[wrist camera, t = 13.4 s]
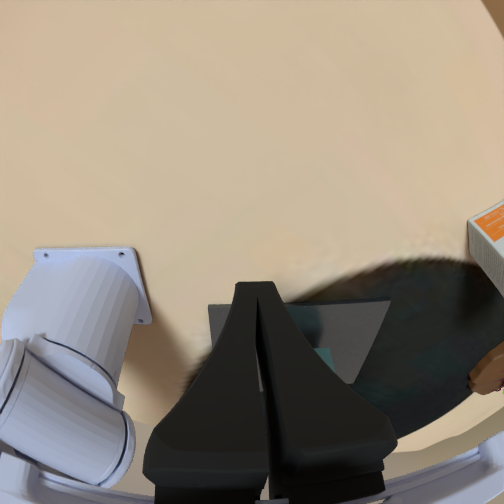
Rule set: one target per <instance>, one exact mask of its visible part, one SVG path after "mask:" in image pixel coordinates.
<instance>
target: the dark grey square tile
mask: <svg viewBox="0 0 504 504" xmlns="http://www.w3.org/2000/svg"><path fill="white" fill-rule="evenodd" d="M390 302H391V299H390V298H378V299H363V300H347V301H328V302H306V303H284V305H285V307H286V308H287V310H288V312H289V314H290V315H291V317H292V318H293V320H294V322H295V323H296V325H297V326H298V328H299V329H300V331H301V332H302V334H303V335H304V337H305V338H306V339H307V341H308V342H309V343H310V345H311V346H312V347H313V349H314V348H327V347H329V350H330V354H331V358H332V362H333V366H334V369H335V373H336V374H337V375H338V376H339V377H340V378H341V379H342V380H343V381H344V382H345V383H346V384H351V383H353V382H354V381H355V379H356V377H357V375H358V373H359V371H360V369H361V367H362V365H363V363H364V361H365V359H366V356H367V354H368V352H369V350H370V348H371V346H372V344H373V342H374V339H375V337H376V335H377V333H378V331H379V328H380V326H381V324H382V321H383V319H384V317H385V314H386V312H387V310H388V307H389V305H390ZM231 305H232V304H227V305H208V313H209V322H210V331H211V340H212V348H214V346H215V344H216V342H217V340H218V338H219V335H220V333H221V331H222V329H223V327H224V324H225V322H226V319H227V316H228V314H229V311H230V308H231ZM256 358H257V352H256ZM257 368H258V378H259V387H260V391H263V389H262V383H261V377H260V371H259V365H258V359H257Z"/></svg>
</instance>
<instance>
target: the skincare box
mask: <svg viewBox="0 0 504 504" xmlns="http://www.w3.org/2000/svg"><path fill="white" fill-rule="evenodd" d="M467 222H468V233H469V253H470V255H471V256H472V257H473V258H474V260H475V261H476V262H477V263H478V265H479V266H480V267H481V268H482V269H483V271H484V272H485V273H486V275H487V276H488V277H489V278H490V280H491V281H492V282H493V284H494V285H495V286H496V288H497V289H498V290H499V292H500V293H501V294H502V296H503V297H504V201H502V202H500V203H499V204H497V205H495V206H493V207H492V208H490V209H488V210H486V211H484V212H482V213H480V214H478V215H477V216H475V217H473V218H471V219H469V220H468V221H467Z"/></svg>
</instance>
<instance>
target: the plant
mask: <svg viewBox="0 0 504 504" xmlns="http://www.w3.org/2000/svg"><path fill="white" fill-rule="evenodd" d="M469 376H470V378H471V379H470V381H469V382H468V384H469V387H470V389H471V390H472V391H473V392H477V393H479V394H481V395H486V394H489V393H491V392H493V391H500V390H501V388H502V387H504V341H503V342H502V343H501V344H499V345H498V346H497V347H495V348H494V349H492V350H491V351H489V352H488V353H487V354H486V356H485V357H484V358H482V359H481V360H480V361H479V362H478V363H477V365H476V366H475V367H474V369H473V370H472V371H471V372H470V373H469ZM498 389H499V390H498ZM503 394H504V391H503Z"/></svg>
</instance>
